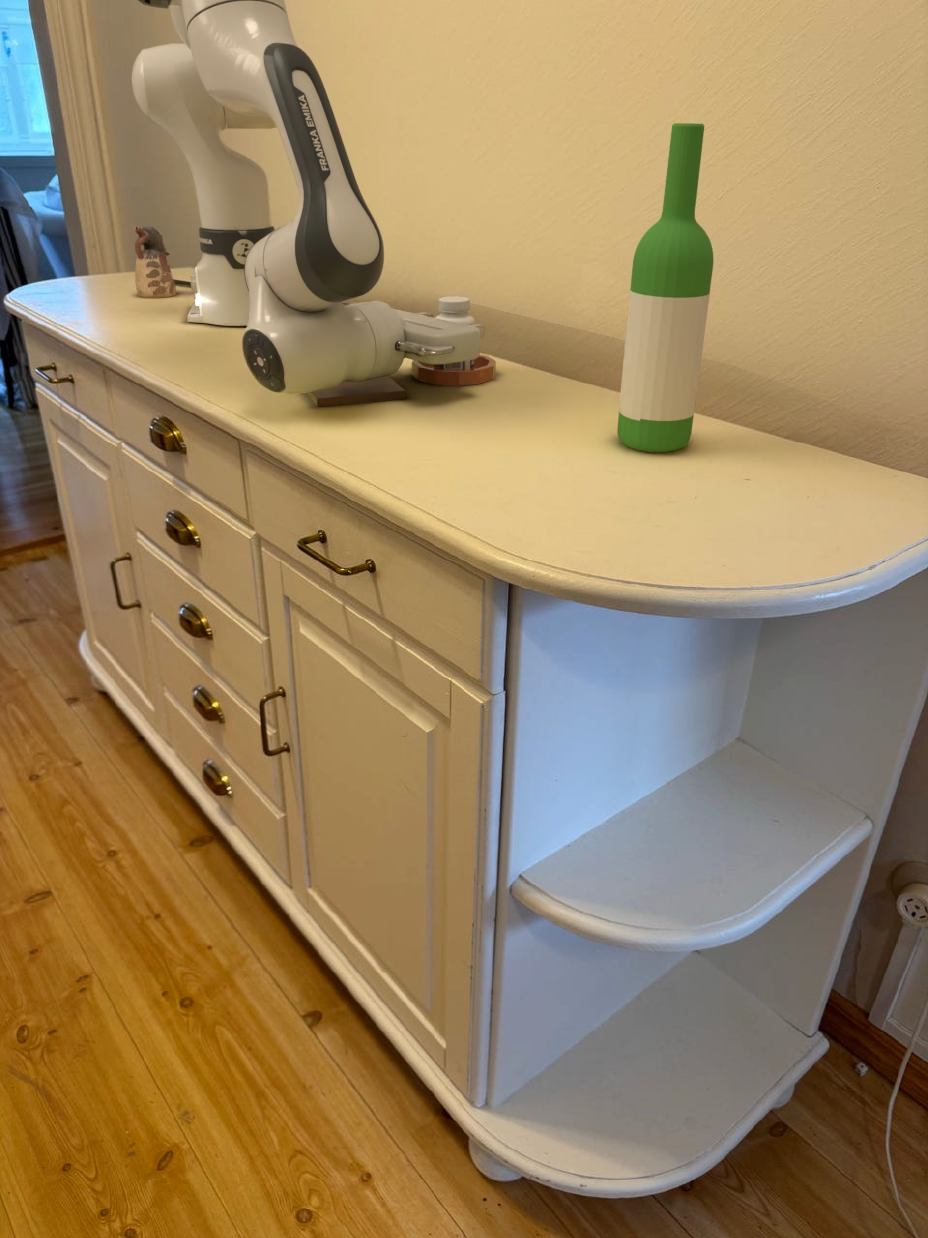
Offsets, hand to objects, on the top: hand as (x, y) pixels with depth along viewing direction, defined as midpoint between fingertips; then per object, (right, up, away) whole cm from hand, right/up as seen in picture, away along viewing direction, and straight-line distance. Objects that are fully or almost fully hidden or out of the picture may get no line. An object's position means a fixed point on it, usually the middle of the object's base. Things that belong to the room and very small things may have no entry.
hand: (454, 324), depth 120 cm
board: (-15, -7, 0) cm, 16 cm away
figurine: (-56, +23, +53) cm, 81 cm away
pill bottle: (0, -6, +3) cm, 7 cm away
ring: (0, -6, +3) cm, 6 cm away
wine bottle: (+21, -20, -22) cm, 36 cm away
